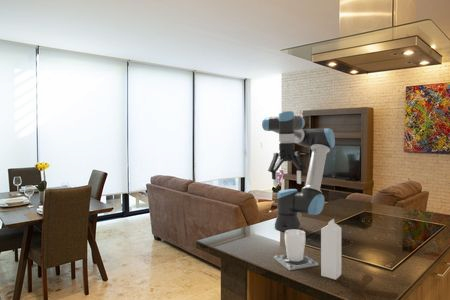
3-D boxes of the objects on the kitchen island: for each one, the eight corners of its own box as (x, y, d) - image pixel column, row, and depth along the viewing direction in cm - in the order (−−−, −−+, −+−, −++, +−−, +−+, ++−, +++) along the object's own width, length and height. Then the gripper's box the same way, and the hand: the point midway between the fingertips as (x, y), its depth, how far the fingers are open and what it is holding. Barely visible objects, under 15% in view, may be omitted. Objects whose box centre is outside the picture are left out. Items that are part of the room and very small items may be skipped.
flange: (300, 254, 151) (300, 250, 151) (318, 265, 137) (318, 261, 137) (273, 258, 146) (273, 255, 146) (289, 270, 133) (289, 266, 133)
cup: (290, 264, 136) (290, 236, 136) (281, 256, 145) (281, 230, 144) (309, 261, 139) (309, 234, 138) (299, 254, 147) (299, 228, 147)
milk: (341, 274, 128) (342, 220, 127) (335, 280, 123) (336, 223, 122) (326, 270, 132) (327, 217, 131) (320, 275, 127) (320, 220, 126)
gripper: (303, 141, 168) (304, 181, 170) (260, 143, 160) (261, 185, 161) (312, 141, 161) (312, 183, 163) (268, 143, 153) (268, 188, 154)
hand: (287, 184), depth 162 cm, fingers open, 13 cm apart
